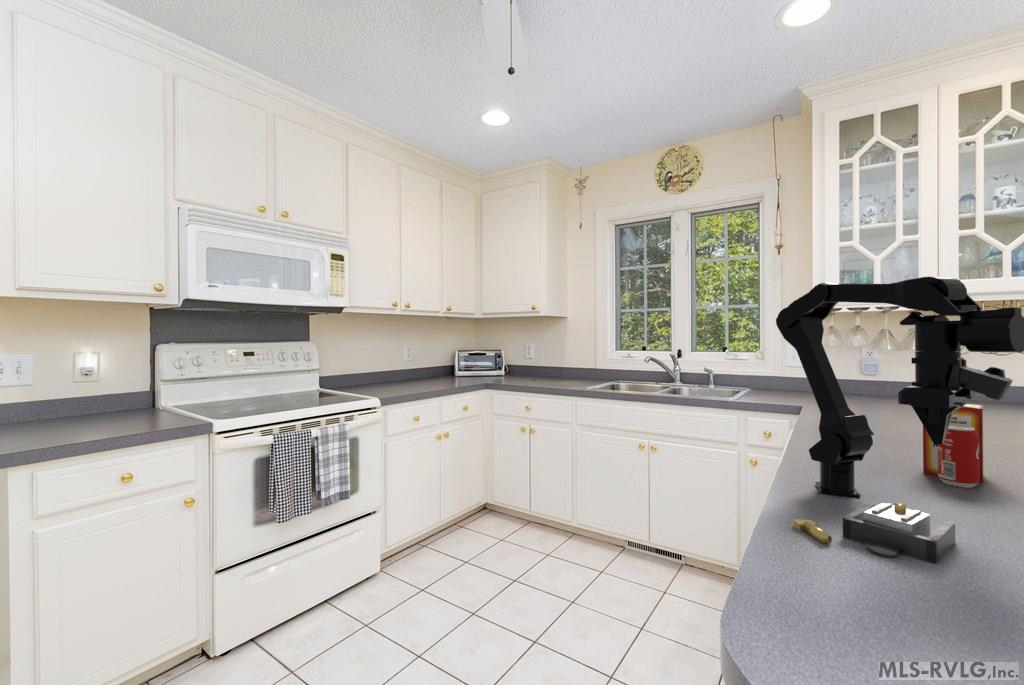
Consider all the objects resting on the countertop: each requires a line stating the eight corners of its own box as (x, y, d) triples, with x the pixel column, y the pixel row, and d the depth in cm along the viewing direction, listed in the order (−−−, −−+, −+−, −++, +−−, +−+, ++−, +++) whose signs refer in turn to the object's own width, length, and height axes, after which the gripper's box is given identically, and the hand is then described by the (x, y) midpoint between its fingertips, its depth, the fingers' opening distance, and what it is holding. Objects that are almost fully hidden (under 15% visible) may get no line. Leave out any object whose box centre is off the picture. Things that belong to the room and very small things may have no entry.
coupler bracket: (867, 520, 80) (867, 502, 80) (955, 542, 71) (955, 522, 71) (834, 542, 71) (834, 522, 71) (929, 570, 62) (929, 548, 62)
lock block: (882, 530, 76) (882, 496, 76) (930, 543, 71) (929, 507, 71) (863, 541, 72) (863, 505, 72) (912, 555, 67) (912, 517, 67)
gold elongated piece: (793, 526, 77) (792, 517, 77) (810, 526, 77) (810, 517, 77) (816, 544, 71) (816, 534, 71) (836, 544, 71) (835, 534, 70)
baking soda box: (923, 473, 105) (922, 403, 105) (926, 468, 110) (925, 400, 110) (982, 482, 99) (982, 407, 98) (983, 476, 103) (982, 403, 103)
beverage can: (988, 488, 95) (988, 429, 94) (957, 489, 95) (956, 430, 95) (959, 479, 101) (959, 424, 101) (929, 479, 101) (929, 424, 101)
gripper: (994, 354, 67) (995, 463, 67) (1016, 350, 78) (1017, 444, 78) (896, 352, 76) (897, 449, 76) (928, 350, 87) (929, 434, 87)
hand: (938, 444), depth 79 cm, fingers closed
